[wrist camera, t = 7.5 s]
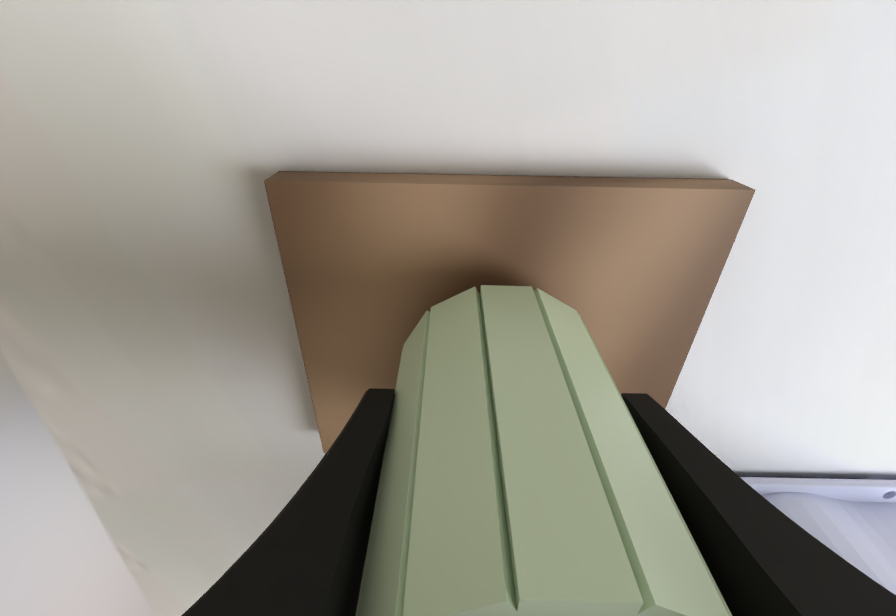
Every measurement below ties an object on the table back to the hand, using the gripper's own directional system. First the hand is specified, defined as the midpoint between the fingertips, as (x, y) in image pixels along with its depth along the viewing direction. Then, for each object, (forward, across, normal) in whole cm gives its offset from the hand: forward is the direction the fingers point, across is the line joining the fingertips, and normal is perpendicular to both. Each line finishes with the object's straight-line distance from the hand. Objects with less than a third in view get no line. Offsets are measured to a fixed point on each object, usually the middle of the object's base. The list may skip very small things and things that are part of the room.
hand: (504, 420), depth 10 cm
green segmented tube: (+2, 0, 0) cm, 2 cm away
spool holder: (+4, 0, 0) cm, 4 cm away
